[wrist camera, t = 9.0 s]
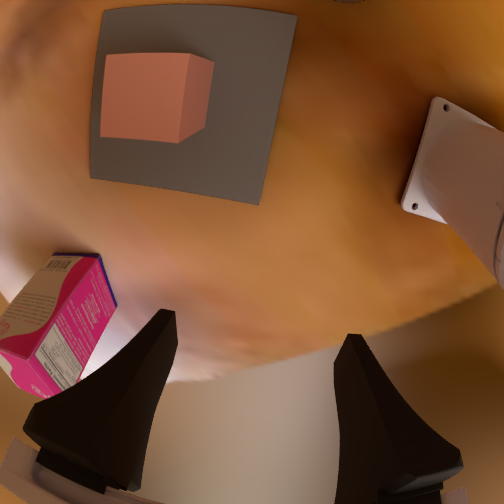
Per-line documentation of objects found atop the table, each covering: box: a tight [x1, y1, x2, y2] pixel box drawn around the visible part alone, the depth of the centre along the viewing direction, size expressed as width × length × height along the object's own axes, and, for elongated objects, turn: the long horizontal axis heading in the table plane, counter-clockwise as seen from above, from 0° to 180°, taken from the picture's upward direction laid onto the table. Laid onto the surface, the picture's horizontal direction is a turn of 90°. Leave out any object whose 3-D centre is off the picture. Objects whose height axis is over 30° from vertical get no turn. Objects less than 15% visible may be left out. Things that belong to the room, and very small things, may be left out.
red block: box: [100, 53, 215, 143], centre depth 13 cm, size 4×4×5 cm
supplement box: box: [0, 253, 117, 399], centre depth 19 cm, size 6×6×12 cm
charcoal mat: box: [90, 4, 298, 205], centre depth 15 cm, size 12×12×1 cm
